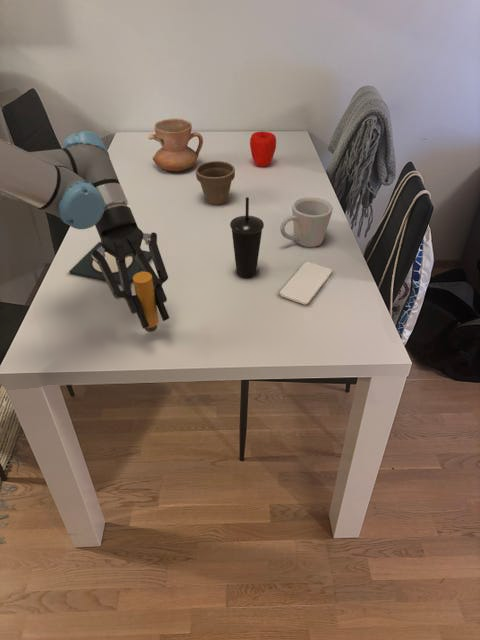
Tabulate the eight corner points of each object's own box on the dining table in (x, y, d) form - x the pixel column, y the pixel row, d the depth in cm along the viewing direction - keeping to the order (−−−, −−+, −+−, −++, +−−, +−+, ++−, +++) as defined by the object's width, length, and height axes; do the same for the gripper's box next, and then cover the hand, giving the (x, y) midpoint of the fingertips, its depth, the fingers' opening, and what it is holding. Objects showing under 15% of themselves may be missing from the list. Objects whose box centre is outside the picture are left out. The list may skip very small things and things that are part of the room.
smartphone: (278, 293, 110) (306, 261, 119) (278, 295, 110) (305, 263, 120) (307, 303, 107) (333, 269, 117) (306, 306, 107) (332, 272, 117)
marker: (139, 331, 98) (129, 280, 89) (147, 320, 100) (138, 269, 92) (155, 335, 97) (146, 284, 88) (162, 323, 99) (155, 273, 91)
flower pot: (209, 213, 139) (207, 180, 133) (190, 197, 147) (188, 166, 140) (242, 203, 144) (242, 171, 137) (222, 188, 151) (222, 157, 145)
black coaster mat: (69, 273, 117) (69, 270, 116) (99, 244, 127) (98, 241, 126) (128, 286, 113) (127, 283, 112) (154, 254, 123) (153, 251, 122)
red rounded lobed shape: (272, 158, 169) (274, 127, 162) (277, 168, 163) (279, 137, 155) (247, 159, 168) (248, 128, 161) (251, 170, 162) (252, 138, 154)
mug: (336, 243, 127) (341, 209, 121) (290, 259, 122) (293, 225, 115) (312, 226, 134) (316, 193, 127) (268, 240, 128) (269, 207, 122)
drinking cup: (238, 285, 113) (238, 209, 100) (226, 268, 119) (224, 193, 105) (267, 277, 116) (270, 202, 102) (253, 260, 121) (255, 187, 108)
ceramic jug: (151, 177, 157) (146, 133, 148) (151, 159, 168) (146, 118, 159) (206, 174, 159) (204, 131, 150) (202, 156, 170) (200, 115, 161)
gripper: (146, 207, 100) (189, 311, 100) (67, 229, 93) (113, 340, 93) (154, 194, 93) (199, 305, 93) (69, 217, 86) (118, 337, 87)
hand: (156, 323), depth 93 cm, fingers closed on marker, 4 cm apart
